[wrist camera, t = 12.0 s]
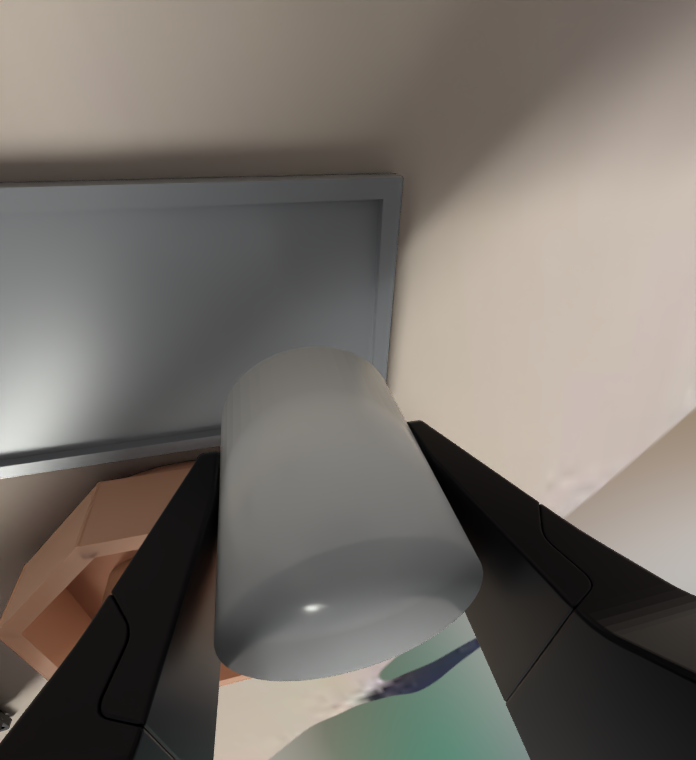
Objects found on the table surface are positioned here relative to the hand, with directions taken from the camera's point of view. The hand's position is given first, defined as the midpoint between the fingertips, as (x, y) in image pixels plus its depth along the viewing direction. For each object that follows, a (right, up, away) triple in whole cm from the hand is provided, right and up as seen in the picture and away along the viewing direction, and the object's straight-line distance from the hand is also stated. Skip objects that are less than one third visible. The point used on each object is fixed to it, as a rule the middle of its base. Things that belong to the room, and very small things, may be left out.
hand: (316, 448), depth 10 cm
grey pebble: (0, +1, +1) cm, 1 cm away
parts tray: (-7, +3, +4) cm, 9 cm away
